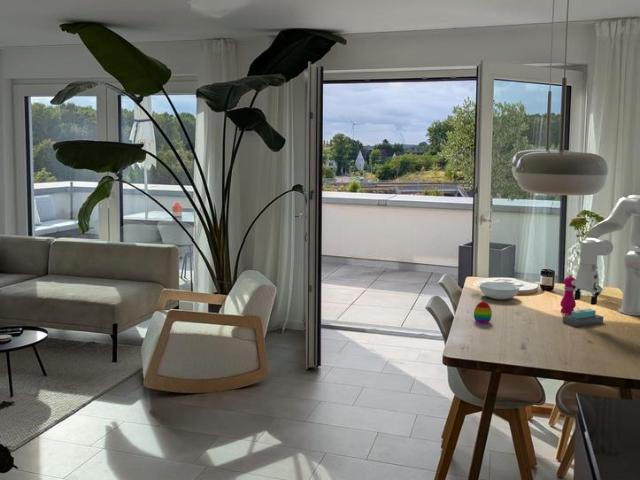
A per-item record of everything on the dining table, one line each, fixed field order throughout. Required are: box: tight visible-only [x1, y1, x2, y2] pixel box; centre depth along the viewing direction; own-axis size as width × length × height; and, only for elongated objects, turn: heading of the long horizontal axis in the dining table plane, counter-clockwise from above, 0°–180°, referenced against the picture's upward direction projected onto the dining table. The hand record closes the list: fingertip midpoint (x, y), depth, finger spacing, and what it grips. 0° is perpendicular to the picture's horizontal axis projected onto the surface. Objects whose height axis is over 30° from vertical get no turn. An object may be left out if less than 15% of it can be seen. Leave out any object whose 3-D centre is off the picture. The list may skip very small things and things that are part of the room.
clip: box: [570, 308, 597, 319], centre depth 313 cm, size 12×4×6 cm, turn 117°
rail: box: [562, 314, 604, 328], centre depth 313 cm, size 18×8×3 cm, turn 117°
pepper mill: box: [559, 273, 577, 315], centre depth 329 cm, size 7×7×20 cm
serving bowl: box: [479, 281, 520, 301], centre depth 359 cm, size 21×21×7 cm
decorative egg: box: [473, 300, 493, 324], centre depth 309 cm, size 8×8×10 cm
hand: (585, 301), depth 312 cm, fingers open, 9 cm apart
